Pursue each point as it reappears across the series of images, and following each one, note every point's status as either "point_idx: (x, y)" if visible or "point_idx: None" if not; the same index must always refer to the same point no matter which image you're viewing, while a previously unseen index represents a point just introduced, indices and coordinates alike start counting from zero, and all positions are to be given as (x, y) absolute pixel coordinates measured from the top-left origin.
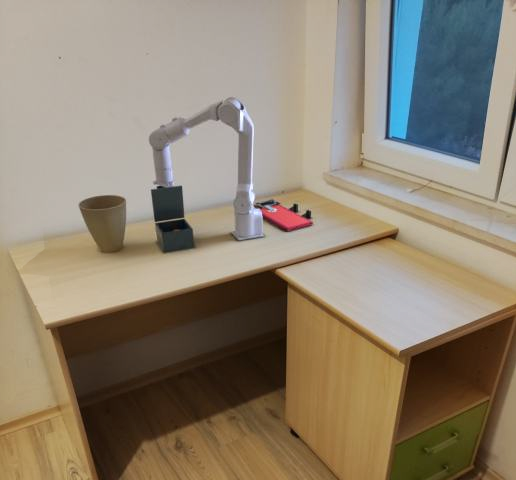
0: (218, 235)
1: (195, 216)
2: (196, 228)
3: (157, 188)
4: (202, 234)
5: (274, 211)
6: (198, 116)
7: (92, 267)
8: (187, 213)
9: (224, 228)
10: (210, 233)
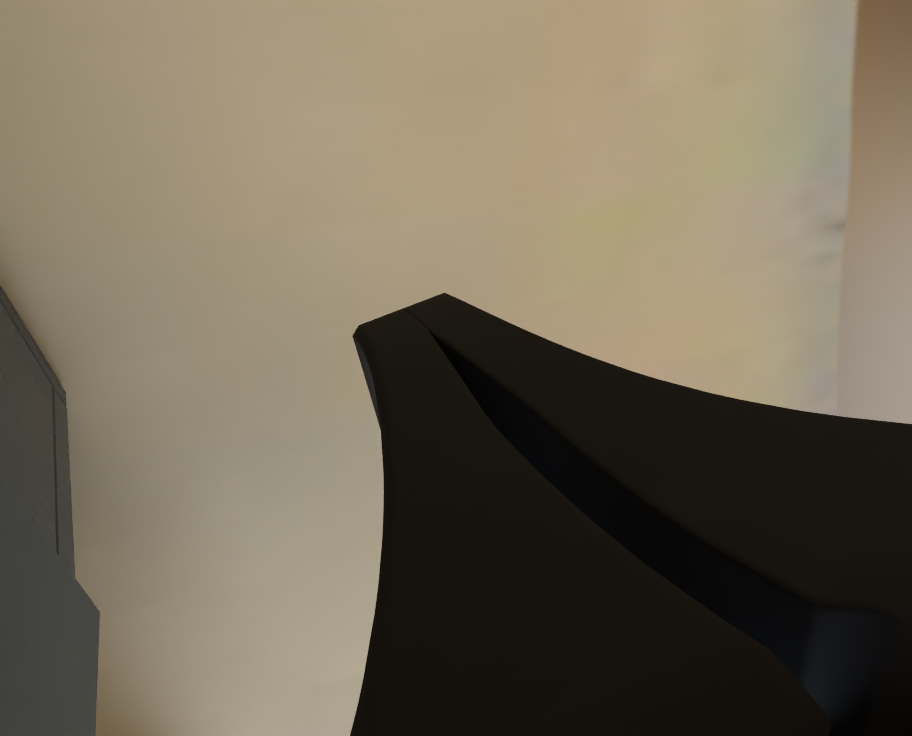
0: (118, 698)
1: (706, 385)
2: (367, 456)
3: (859, 606)
4: (157, 554)
5: None
6: None
7: None
8: (813, 296)
9: (319, 688)
10: (186, 618)
